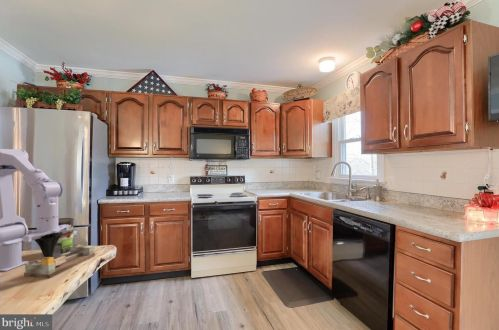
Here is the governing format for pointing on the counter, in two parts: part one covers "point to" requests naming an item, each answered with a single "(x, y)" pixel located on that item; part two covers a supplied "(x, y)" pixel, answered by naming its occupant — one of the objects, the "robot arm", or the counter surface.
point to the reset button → (48, 261)
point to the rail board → (74, 258)
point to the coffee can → (65, 235)
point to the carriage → (58, 256)
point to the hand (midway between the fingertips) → (47, 256)
